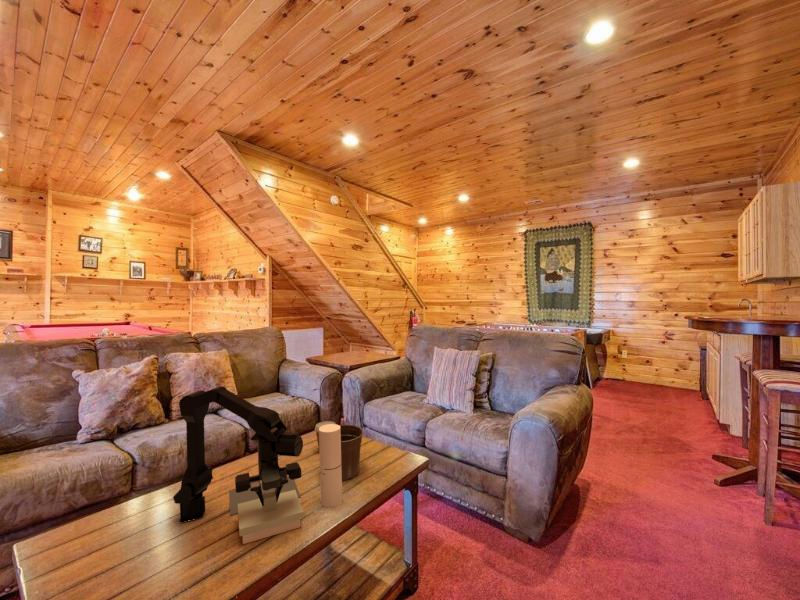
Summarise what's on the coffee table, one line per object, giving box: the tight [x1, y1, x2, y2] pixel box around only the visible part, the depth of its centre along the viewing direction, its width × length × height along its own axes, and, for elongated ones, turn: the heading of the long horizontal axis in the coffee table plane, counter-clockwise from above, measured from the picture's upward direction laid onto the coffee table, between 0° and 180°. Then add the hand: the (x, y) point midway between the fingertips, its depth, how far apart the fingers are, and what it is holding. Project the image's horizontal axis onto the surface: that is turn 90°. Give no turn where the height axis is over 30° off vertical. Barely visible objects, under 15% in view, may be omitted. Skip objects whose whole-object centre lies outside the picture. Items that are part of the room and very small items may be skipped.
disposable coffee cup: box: [314, 420, 336, 448], centre depth 161 cm, size 10×10×12 cm
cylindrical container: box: [318, 424, 343, 508], centre depth 123 cm, size 7×7×25 cm
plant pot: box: [338, 424, 364, 482], centre depth 142 cm, size 16×16×16 cm
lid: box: [237, 490, 304, 537], centre depth 112 cm, size 18×14×6 cm
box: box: [241, 519, 302, 545], centre depth 112 cm, size 16×12×4 cm
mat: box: [229, 476, 301, 517], centre depth 129 cm, size 22×16×1 cm
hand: (269, 503), depth 112 cm, fingers closed on lid, 3 cm apart
